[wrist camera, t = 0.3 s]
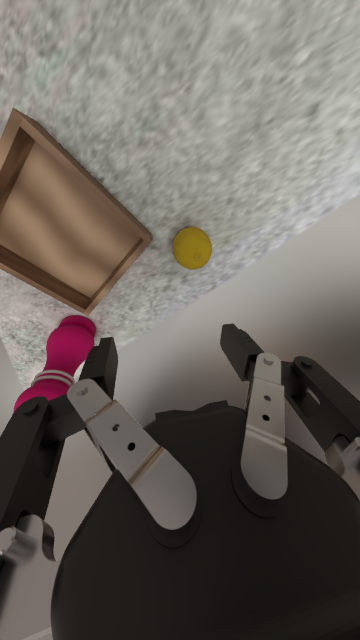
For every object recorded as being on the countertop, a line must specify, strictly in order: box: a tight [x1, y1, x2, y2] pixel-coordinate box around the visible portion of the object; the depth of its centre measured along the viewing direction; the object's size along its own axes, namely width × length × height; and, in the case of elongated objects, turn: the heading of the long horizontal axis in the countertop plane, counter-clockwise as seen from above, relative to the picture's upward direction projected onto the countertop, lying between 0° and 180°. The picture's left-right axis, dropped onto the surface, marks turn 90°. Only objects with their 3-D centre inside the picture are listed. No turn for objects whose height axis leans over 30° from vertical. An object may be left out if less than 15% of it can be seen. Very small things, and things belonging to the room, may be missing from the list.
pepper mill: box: [14, 316, 96, 412], centre depth 28 cm, size 7×7×20 cm
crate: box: [0, 108, 152, 316], centre depth 25 cm, size 16×16×4 cm
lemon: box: [173, 227, 212, 269], centre depth 26 cm, size 6×6×8 cm
